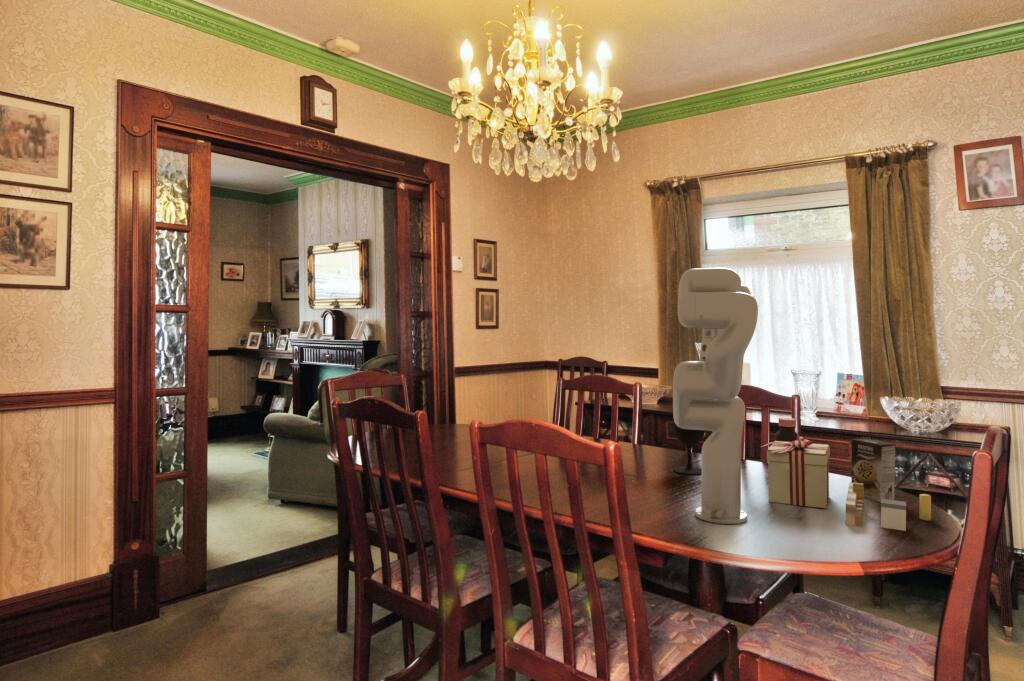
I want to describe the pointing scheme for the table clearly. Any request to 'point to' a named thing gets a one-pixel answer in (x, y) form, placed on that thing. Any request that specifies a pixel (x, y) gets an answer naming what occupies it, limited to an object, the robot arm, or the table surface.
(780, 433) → the bottle
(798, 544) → the table surface
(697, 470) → the wine glass
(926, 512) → the post
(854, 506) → the comb fence
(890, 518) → the beige square box
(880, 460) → the coffee box
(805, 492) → the gift box
